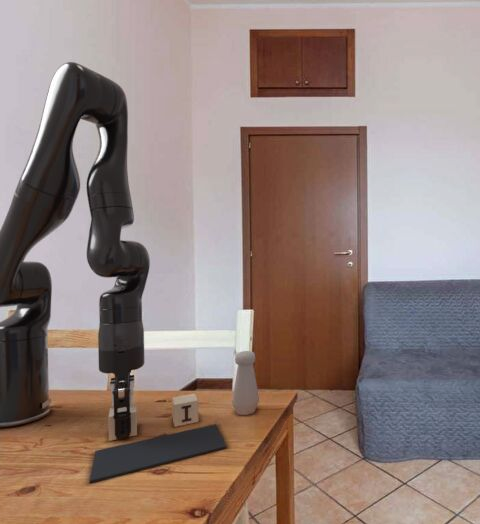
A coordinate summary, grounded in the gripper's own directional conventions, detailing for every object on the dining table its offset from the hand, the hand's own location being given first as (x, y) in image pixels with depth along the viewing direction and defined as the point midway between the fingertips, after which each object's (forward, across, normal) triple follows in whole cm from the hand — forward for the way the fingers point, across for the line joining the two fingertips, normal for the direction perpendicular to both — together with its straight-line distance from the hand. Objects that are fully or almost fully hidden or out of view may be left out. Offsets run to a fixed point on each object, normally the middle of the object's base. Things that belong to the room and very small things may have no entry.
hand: (123, 430), depth 72 cm
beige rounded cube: (0, 0, 0) cm, 0 cm away
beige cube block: (0, 0, +11) cm, 11 cm away
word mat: (0, +11, +6) cm, 13 cm away
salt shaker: (+1, +2, +23) cm, 23 cm away
